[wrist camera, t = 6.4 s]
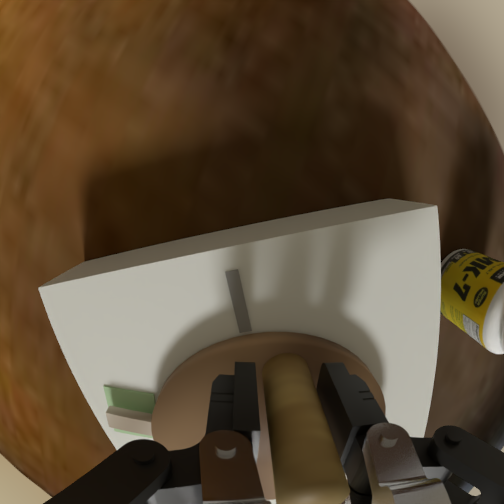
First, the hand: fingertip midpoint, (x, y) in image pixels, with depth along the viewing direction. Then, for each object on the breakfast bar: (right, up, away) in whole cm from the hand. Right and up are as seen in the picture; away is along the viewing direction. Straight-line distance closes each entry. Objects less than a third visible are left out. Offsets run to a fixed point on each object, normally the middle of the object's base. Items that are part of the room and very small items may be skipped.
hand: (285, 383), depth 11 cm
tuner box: (-1, -3, +8) cm, 8 cm away
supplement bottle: (+12, +3, +7) cm, 15 cm away
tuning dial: (-2, -4, +3) cm, 5 cm away
